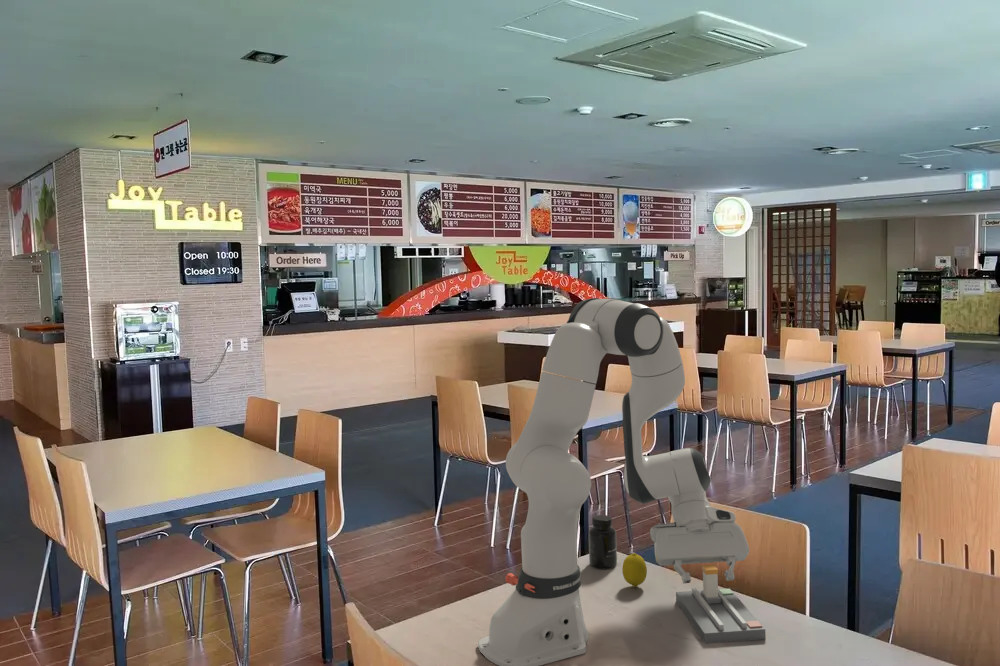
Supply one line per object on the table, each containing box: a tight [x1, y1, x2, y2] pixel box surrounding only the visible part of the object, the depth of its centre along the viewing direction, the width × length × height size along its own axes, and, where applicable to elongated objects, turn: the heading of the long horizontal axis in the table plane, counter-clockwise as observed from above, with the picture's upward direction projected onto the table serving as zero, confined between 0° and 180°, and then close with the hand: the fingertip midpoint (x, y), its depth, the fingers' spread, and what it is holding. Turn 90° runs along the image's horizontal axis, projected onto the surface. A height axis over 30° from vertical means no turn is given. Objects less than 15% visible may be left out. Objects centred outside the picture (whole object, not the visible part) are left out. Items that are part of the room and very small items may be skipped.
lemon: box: [621, 552, 648, 588], centre depth 181 cm, size 6×6×8 cm
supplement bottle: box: [588, 514, 618, 570], centre depth 195 cm, size 7×7×12 cm
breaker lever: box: [701, 564, 721, 604], centre depth 167 cm, size 4×3×7 cm
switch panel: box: [675, 587, 766, 644], centre depth 163 cm, size 20×12×3 cm, turn 3°
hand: (708, 580), depth 168 cm, fingers open, 8 cm apart
